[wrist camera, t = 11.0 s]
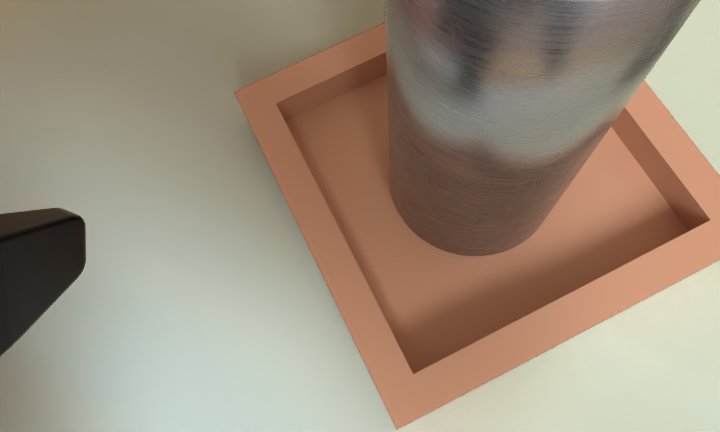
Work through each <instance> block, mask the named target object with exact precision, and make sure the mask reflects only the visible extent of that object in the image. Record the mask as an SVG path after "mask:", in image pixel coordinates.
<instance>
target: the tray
mask: <svg viewBox="0 0 720 432" xmlns="http://www.w3.org/2000/svg"><path fill="white" fill-rule="evenodd" d="M234 93H235V95H236V97H237V99H238V101H239V103H240V105H241V107H242V109H243V111H244V114H245V116H246V118H247V120H248V122H249V124H250V126H251V128H252V130H253V132H254V134H255V136H256V138H257V141H258V143H259V145H260V147H261V149H262V151H263V153H264V155H265V157H266V159H267V161H268V163H269V166H270V168H271V170H272V172H273V174H274V176H275V178H276V180H277V182H278V184H279V186H280V188H281V190H282V193H283V195H284V197H285V199H286V201H287V203H288V205H289V207H290V209H291V211H292V213H293V215H294V217H295V220H296V222H297V224H298V226H299V228H300V230H301V232H302V234H303V236H304V238H305V240H306V242H307V244H308V247H309V249H310V251H311V253H312V255H313V257H314V259H315V261H316V263H317V265H318V267H319V269H320V271H321V274H322V276H323V278H324V280H325V282H326V284H327V286H328V288H329V290H330V292H331V294H332V296H333V299H334V301H335V303H336V305H337V307H338V309H339V311H340V313H341V315H342V317H343V319H344V321H345V323H346V326H347V328H348V330H349V332H350V334H351V336H352V338H353V340H354V342H355V344H356V346H357V348H358V350H359V353H360V355H361V357H362V359H363V361H364V363H365V365H366V367H367V369H368V371H369V373H370V375H371V377H372V380H373V382H374V384H375V386H376V388H377V390H378V392H379V394H380V396H381V398H382V400H383V402H384V405H385V407H386V409H387V411H388V413H389V415H390V417H391V419H392V421H393V423H394V425H395V427H396V429H399V428H401V427H403V426H405V425H407V424H409V423H411V422H412V421H414V420H416V419H418V418H420V417H422V416H424V415H426V414H428V413H430V412H431V411H433V410H435V409H437V408H439V407H441V406H443V405H445V404H447V403H449V402H450V401H452V400H454V399H456V398H458V397H460V396H462V395H464V394H466V393H468V392H469V391H471V390H473V389H475V388H477V387H479V386H481V385H483V384H485V383H487V382H488V381H490V380H492V379H494V378H496V377H498V376H500V375H502V374H504V373H506V372H507V371H509V370H511V369H513V368H515V367H517V366H519V365H521V364H523V363H525V362H526V361H528V360H530V359H532V358H534V357H536V356H538V355H540V354H542V353H544V352H546V351H547V350H549V349H551V348H553V347H555V346H557V345H559V344H561V343H563V342H565V341H566V340H568V339H570V338H572V337H574V336H576V335H578V334H580V333H582V332H584V331H585V330H587V329H589V328H591V327H593V326H595V325H597V324H599V323H601V322H603V321H604V320H606V319H608V318H610V317H612V316H614V315H616V314H618V313H620V312H622V311H623V310H625V309H627V308H629V307H631V306H633V305H635V304H637V303H639V302H641V301H642V300H644V299H646V298H648V297H650V296H652V295H654V294H656V293H658V292H660V291H661V290H663V289H665V288H667V287H669V286H671V285H673V284H675V283H677V282H679V281H681V280H682V279H684V278H686V277H688V276H690V275H692V274H694V273H696V272H698V271H700V270H701V269H703V268H705V267H707V266H709V265H711V264H713V263H715V262H717V261H719V260H720V175H719V174H718V173H717V172H716V170H715V169H714V168H713V167H712V165H711V164H710V163H709V161H708V160H707V159H706V158H705V156H704V155H703V154H702V153H701V151H700V150H699V149H698V148H697V146H696V145H695V144H694V143H693V141H692V140H691V139H690V137H689V136H688V135H687V134H686V132H685V131H684V130H683V129H682V127H681V126H680V125H679V124H678V122H677V121H676V120H675V119H674V117H673V116H672V115H671V113H670V112H669V111H668V110H667V108H666V107H665V106H664V105H663V103H662V102H661V101H660V100H659V98H658V97H657V96H656V94H655V93H654V92H653V91H652V89H651V88H650V87H649V86H648V84H647V83H646V82H645V81H643V82H642V83H641V85H640V86H639V88H638V89H637V91H636V92H635V93H634V95H633V96H632V98H631V99H630V100H629V102H628V103H627V105H626V106H625V107H624V109H623V110H622V112H621V113H620V115H619V116H618V117H617V119H616V120H615V122H614V123H613V124H612V126H611V127H610V129H609V130H608V131H607V133H606V134H605V136H604V137H603V139H602V140H601V141H600V143H599V144H598V146H597V147H596V148H595V150H594V151H593V153H592V154H591V155H590V157H589V158H588V160H587V161H586V163H585V164H584V165H583V167H582V168H581V170H580V171H579V172H578V174H577V175H576V177H575V178H574V179H573V181H572V182H571V184H570V185H569V187H568V188H567V189H566V191H565V192H564V194H563V195H562V196H561V198H560V199H559V201H558V202H557V203H556V205H555V206H554V208H553V209H552V211H551V212H550V213H549V215H548V216H547V218H546V219H545V220H544V222H543V223H542V225H541V226H540V227H539V229H538V230H537V231H536V232H535V233H534V234H533V235H532V236H531V237H529V238H528V239H527V240H525V241H524V242H523V243H521V244H519V245H518V246H516V247H514V248H512V249H509V250H507V251H505V252H501V253H498V254H494V255H487V256H464V255H457V254H453V253H449V252H446V251H444V250H441V249H438V248H436V247H434V246H433V245H431V244H429V243H427V242H426V241H424V240H423V239H421V238H420V237H419V236H418V235H416V234H415V233H414V232H413V231H412V230H411V229H410V228H409V227H408V225H407V224H406V223H405V222H404V220H403V219H402V217H401V216H400V214H399V213H398V210H397V208H396V206H395V204H394V201H393V198H392V194H391V188H390V173H389V136H388V99H387V62H386V25H385V23H383V24H381V25H379V26H376V27H374V28H372V29H370V30H368V31H366V32H363V33H361V34H359V35H357V36H355V37H353V38H350V39H348V40H346V41H344V42H342V43H339V44H337V45H335V46H333V47H331V48H329V49H326V50H324V51H322V52H320V53H318V54H316V55H313V56H311V57H309V58H307V59H305V60H303V61H300V62H298V63H296V64H294V65H292V66H290V67H287V68H285V69H283V70H281V71H279V72H277V73H274V74H272V75H270V76H268V77H266V78H264V79H261V80H259V81H257V82H255V83H253V84H251V85H248V86H246V87H244V88H242V89H240V90H238V91H235V92H234Z"/></svg>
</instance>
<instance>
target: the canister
mask: <svg viewBox="0 0 720 432" xmlns="http://www.w3.org/2000/svg"><path fill="white" fill-rule="evenodd" d="M699 2H700V0H385V25H386V62H387V99H388V136H389V173H390V188H391V194H392V198H393V201H394V204H395V206H396V208H397V210H398V213H399V214H400V216H401V217H402V219H403V220H404V222H405V223H406V224H407V225H408V227H409V228H410V229H411V230H412V231H413V232H414V233H415V234H416V235H418V236H419V237H420V238H421V239H423V240H424V241H426V242H427V243H429V244H431V245H433V246H434V247H436V248H438V249H441V250H444V251H446V252H449V253H453V254H457V255H464V256H487V255H494V254H498V253H501V252H505V251H507V250H509V249H512V248H514V247H516V246H518V245H519V244H521V243H523V242H524V241H525V240H527V239H528V238H529V237H531V236H532V235H533V234H534V233H535V232H536V231H537V230H538V229H539V227H540V226H541V225H542V223H543V222H544V220H545V219H546V218H547V216H548V215H549V213H550V212H551V211H552V209H553V208H554V206H555V205H556V203H557V202H558V201H559V199H560V198H561V196H562V195H563V194H564V192H565V191H566V189H567V188H568V187H569V185H570V184H571V182H572V181H573V179H574V178H575V177H576V175H577V174H578V172H579V171H580V170H581V168H582V167H583V165H584V164H585V163H586V161H587V160H588V158H589V157H590V155H591V154H592V153H593V151H594V150H595V148H596V147H597V146H598V144H599V143H600V141H601V140H602V139H603V137H604V136H605V134H606V133H607V131H608V130H609V129H610V127H611V126H612V124H613V123H614V122H615V120H616V119H617V117H618V116H619V115H620V113H621V112H622V110H623V109H624V107H625V106H626V105H627V103H628V102H629V100H630V99H631V98H632V96H633V95H634V93H635V92H636V91H637V89H638V88H639V86H640V85H641V83H642V82H643V81H644V79H645V78H646V76H647V75H648V74H649V72H650V71H651V69H652V68H653V66H654V65H655V64H656V62H657V61H658V59H659V58H660V57H661V55H662V54H663V52H664V51H665V50H666V48H667V47H668V45H669V44H670V42H671V41H672V40H673V38H674V37H675V35H676V34H677V33H678V31H679V30H680V28H681V27H682V26H683V24H684V23H685V21H686V20H687V18H688V17H689V16H690V14H691V13H692V11H693V10H694V9H695V7H696V6H697V4H698V3H699Z"/></svg>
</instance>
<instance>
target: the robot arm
mask: <svg viewBox="0 0 720 432" xmlns="http://www.w3.org/2000/svg"><path fill="white" fill-rule="evenodd" d="M85 263H86V229H85V222H84V220H83V218H81V217H80V216H79V215H77V214H74V213H72V212H69V211H67V210H64V209H61V208H49V209H41V210H32V211H23V212H14V213H5V214H0V356H1V355H3V354H4V353H5V352H6V351H7V350H8V349H9V348H10V347H11V346H12V345H13V344H14V343H15V342H16V341H17V340H18V339H19V338H20V337H21V336H22V335H23V334H24V333H25V332H26V331H27V330H28V329H29V328H30V327H31V326H32V325H33V324H34V323H35V322H36V321H37V320H38V319H39V318H40V317H41V316H42V314H43V313H44V312H45V311H46V310H47V309H48V308H49V307H50V306H51V305H52V304H53V303H54V302H55V301H56V300H57V299H58V298H59V297H60V296H61V295H62V294H63V293H64V291H65V290H66V289H67V288H68V287H69V286H70V285H71V284H72V283H73V282H74V281H75V280H76V279H77V278H78V277H79V275H80V274H81V272H82V271H83V269H84V266H85Z"/></svg>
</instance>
